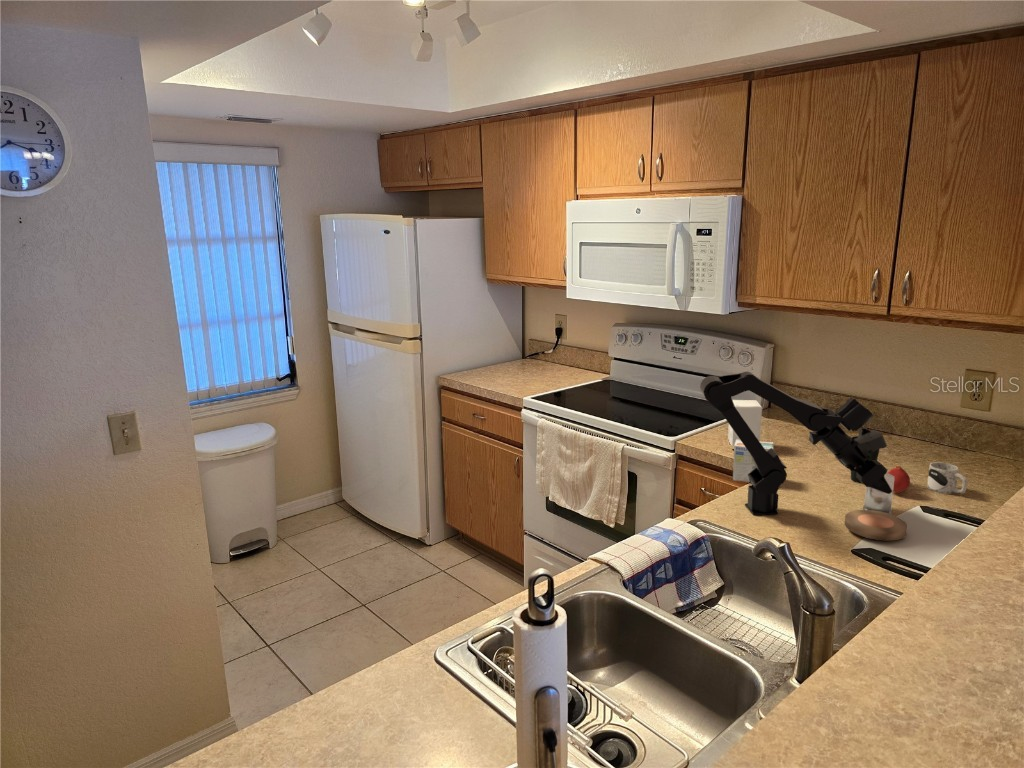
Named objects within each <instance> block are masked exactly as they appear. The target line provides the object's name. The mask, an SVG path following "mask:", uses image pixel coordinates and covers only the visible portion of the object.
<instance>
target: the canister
mask: <svg viewBox="0 0 1024 768" xmlns="http://www.w3.org/2000/svg"><path fill="white" fill-rule="evenodd" d="M884 477H885V479H886V481H887V483H888V484H889V486H890V488H891V490H892V492H891V493H890V494H887V493H885V492H882V491H879V490H876V489H874V488H871V487H866V486H865V494H864V502H863V506H862V510H874V511H880V512H885V513H888V514H891V515H893V513H892V512H893V510H892V505H893V495H894V492H893V488H894V478H895V477H894V476H893V475H891V474H889V473H888V472H887V473H886V474H885V475H884Z"/></svg>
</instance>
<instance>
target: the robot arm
mask: <svg viewBox="0 0 1024 768" xmlns="http://www.w3.org/2000/svg"><path fill="white" fill-rule="evenodd" d="M699 390H700V392H701V394H702V395H703V397H704V398H705V400H706V401H707V402H708V403H709V404H710V405H711V406H712V407H713V408H714V409H715V410H716V411H718V412H719V413H720V414H721V415H722V416H723V417H724V419H725V421H726V422H727V423H728V425H729V424H730V426H731V427H732V429H733V430H734V431H735V433H736V434H737V436H738V437H739V439H740V440H741V441H742V443H743V444H744V446H745V447H746V448H747V450H748V451H749V453H750V454H751V457H752V459H753V462H754V464H755V466H756V468H755V469H754V470H752V471H751V472H750V473H749V474H748V478H749V481H750V482H749V483H750V484H751V485H750V484H749V485H748V487H747V489H748V490H747V491H748V492H747V502H746V503H744V507H746V508H748V509H749V510H750V511H749V512H750V513H751V514H752V516H766V515H769V516H770V515H778V514H779V511H778V508H779V494H778V491H779V488H780V486H781V485H782V484H784V483H785V482H786V479H787V476H788V474H787V473H788V472H787V471H786V469H787V466H786V465H785V464H784V462H783V461H782V459H780V457H779V455H778V454H777V452H776V451H775V450H773V449H772V448H771V449H769V450H768V451H767V450H766V449H765V448H764V447H763V446H762V445H761V443H760V442H761V441H760V442H759V440H758V439H757V438H756V436H755V435H754V433H753V432H752V431H751V429H750V428H749V426H748V425H747V423H746V422H745V421H744V419H743V418H742V416H741V415H740V413H739V412H738V411H737V409H736V408H735V406H734V403H733V400H734V399H733V397H735V396H737V395H740V394H741V393H744V392H748V391H749V392H751V393H753V394H755V395H757V396H758V397H760V398H762V399H763V400H766V401H768V402H769V403H771V404H773V405H774V406H776V407H778V408H780V409H782V410H784V411H785V412H788V414H790V416H792V417H793V418H795V420H797V421H798V422H799V423H800V424H802V426H804V427H805V428H807V430H809V437H808V441H809V442H810V443H811V444H812V445H813V446H816V445H817V444H818V443H819V442H821V443H822V444H823V445H824V446H825V447H826V448H827V449H828V450H829V452H830V453H832V454H833V456H834V457H835V459H836V460H837V461H838V462H839V463H840V464H842V466H844V467H845V468H846V469H848V470H849V471H850V472H851V471H854V472H856V477H857V478H858V479H859V480H860V481H861V482H862V483H863V485H864V487H865V488H866V487H871V488H874V489H876V490H879V491H882V492H885V493H887V494H890V493H891V492H892V490H891V488H890V486H889V484H888V483H887V481H886V479H885V477H884V475H885V474H886V473H888V472H889V471H888V468H886V467H885V466H884V465H883V464H882V462H880V461H879V460H878V459H877V460H870V461H868V460H867V459H868V458H869V457H870V456H871V454H870V453H869V452H873V451H876V450H878V449H879V450H880V449H885V448H887V447H888V444H887V442H886V440H885V437H884V435H883V434H882V433H881V432H880V431H878V430H875V429H871V430H869V429H868V428H867V427H865V426H864V425H865V424H866V423H868V422H869V421H870V420H871V419H872V418H873V417H874V414H873V413H872V412H871V411H870V409H868V408H867V407H865V406H864V405H863V404H862V403H860V402H859V401H858V399H856V398H855V397H853V396H851V397H849V398H848V399H847V400H846V402H845V403H844V404H843V405H841V406H840V407H839V408H838V409H837V410H833V409H832V408H825V407H820V406H818V404H815V402H810V401H808V400H805V399H801V398H797V397H795V396H791V394H788V393H786V392H784V391H783V390H781V389H779V388H777V387H775V386H774V385H772V384H770V383H769V382H767V381H765V380H763V379H761V378H759V377H758V376H757V375H755V374H753V372H751V371H742V372H738V373H734V374H725V375H721V376H720V375H719V376H717V375H708V376H706V377H705V378H703V379H702V380H701V382H700V385H699ZM840 425H841V426H842V427H843V428H844V429H845V430H847V431H848V432H850V431H852V432H857V431H858V435H857V436H858V438H856V439H853V438H852V437H853V436H852V435H849V434H848V433H847V432H846V431H845V430H844V429H843V428H842V427H841V426H840ZM866 458H867V459H866ZM862 483H861V484H862ZM748 509H747V510H748Z"/></svg>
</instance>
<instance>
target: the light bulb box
mask: <svg viewBox="0 0 1024 768" xmlns="http://www.w3.org/2000/svg"><path fill="white" fill-rule="evenodd" d="M759 442H760V443H761V445H762V446H763V447H764V448H765V449H766V450H767V451H768V450H769V449H771V448H772V449H773V450H774V447H775V446H774V445H775V444H774V442H773V441H772V442H771V441H761V440H760V441H759ZM774 451H775V450H774ZM732 465H733V468H732V481H738V482H747V483H751V482H750V481H749V478H748V474H749V473H750V472H751V471H752V470H754V469H755V468H756V466H755V464H754V462H753V459H752V457H751V454H750V453H749V451H748V450H747V448H746V447H745V446H744V444H743V443H742V441H741V440H737V439H736V442H735V446H734V450H733V464H732Z"/></svg>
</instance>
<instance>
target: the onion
mask: <svg viewBox="0 0 1024 768" xmlns="http://www.w3.org/2000/svg"><path fill="white" fill-rule="evenodd" d="M887 473H889V474H891V475H893V476H894V477H895V478H894V488H893V494H899V493H902V492H904V491H905V490H907V489H908V488H909V486H910V483H911V478H910V475H909V474H908V473H907V472H906V470H905V469H903V467H902V466H901V465H900V464H898V465H896V466H895V467H894V468H892V469H890V470H889V471H887Z"/></svg>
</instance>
